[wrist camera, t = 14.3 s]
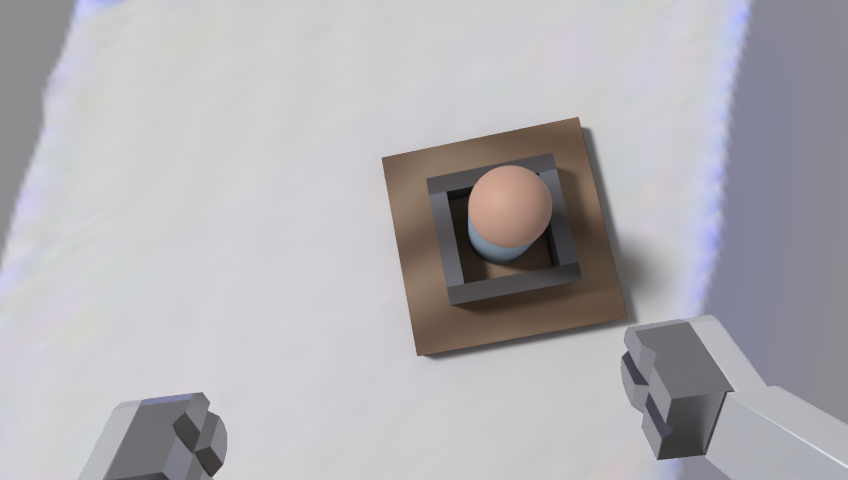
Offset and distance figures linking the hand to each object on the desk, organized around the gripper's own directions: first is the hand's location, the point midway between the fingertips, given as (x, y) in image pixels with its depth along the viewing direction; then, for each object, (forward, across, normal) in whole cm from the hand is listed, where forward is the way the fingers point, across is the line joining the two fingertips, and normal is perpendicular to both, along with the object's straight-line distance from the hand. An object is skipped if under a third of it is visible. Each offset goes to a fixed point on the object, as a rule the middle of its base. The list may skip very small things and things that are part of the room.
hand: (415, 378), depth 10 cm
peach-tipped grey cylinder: (+23, -5, +14) cm, 28 cm away
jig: (+24, -5, +16) cm, 29 cm away
